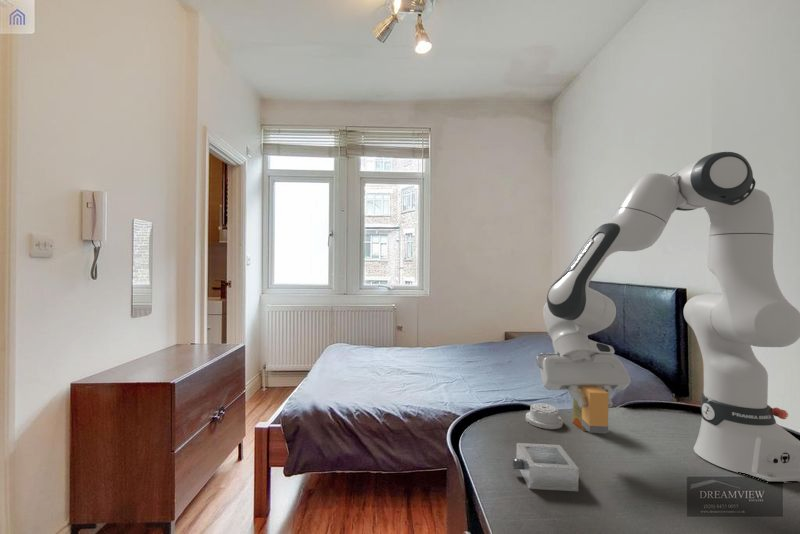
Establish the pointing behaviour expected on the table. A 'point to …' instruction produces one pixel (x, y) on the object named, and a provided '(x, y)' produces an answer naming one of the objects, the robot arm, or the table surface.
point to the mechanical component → (544, 416)
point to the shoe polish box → (578, 413)
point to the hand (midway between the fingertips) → (596, 406)
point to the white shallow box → (546, 467)
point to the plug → (595, 410)
